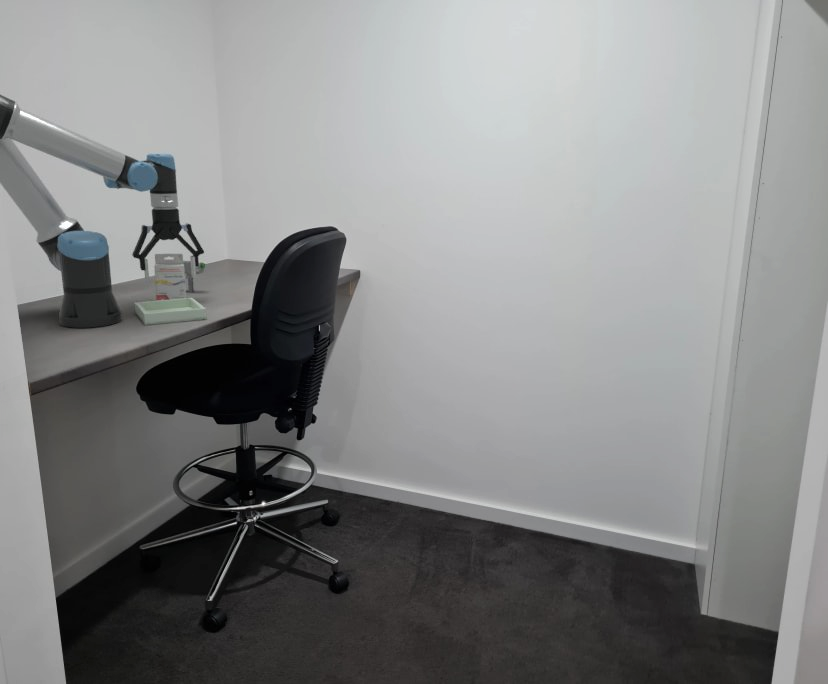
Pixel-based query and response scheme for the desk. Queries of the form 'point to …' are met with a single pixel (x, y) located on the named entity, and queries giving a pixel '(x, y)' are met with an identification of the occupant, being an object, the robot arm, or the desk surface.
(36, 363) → the desk surface
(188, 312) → the tray
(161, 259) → the ink cartridge box
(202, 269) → the mechanical component
